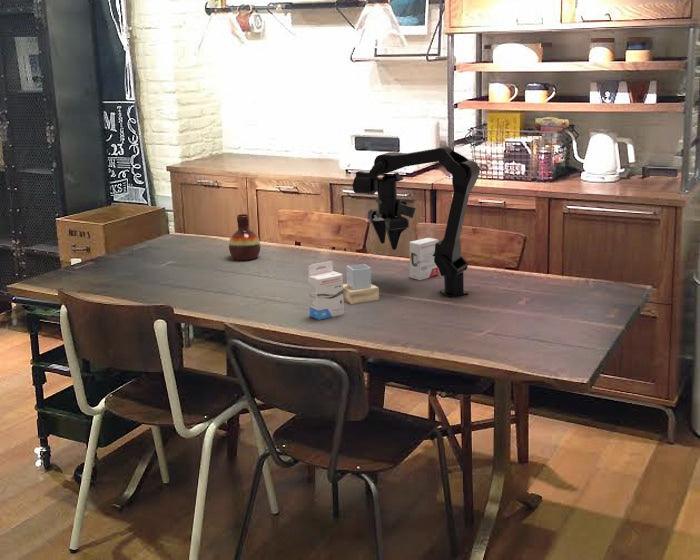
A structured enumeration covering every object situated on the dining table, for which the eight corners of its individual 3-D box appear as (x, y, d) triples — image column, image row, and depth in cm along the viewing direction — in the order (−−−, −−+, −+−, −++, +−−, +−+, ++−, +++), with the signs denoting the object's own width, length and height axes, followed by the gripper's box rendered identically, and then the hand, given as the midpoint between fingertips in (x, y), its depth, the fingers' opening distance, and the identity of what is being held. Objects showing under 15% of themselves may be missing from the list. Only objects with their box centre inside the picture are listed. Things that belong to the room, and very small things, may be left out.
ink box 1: (319, 320, 239) (316, 268, 236) (309, 316, 243) (306, 265, 239) (344, 314, 244) (342, 263, 240) (334, 310, 248) (332, 259, 244)
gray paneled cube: (371, 287, 256) (370, 267, 254) (353, 290, 254) (352, 269, 252) (364, 283, 261) (364, 263, 259) (347, 285, 259) (346, 265, 257)
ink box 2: (428, 272, 284) (428, 236, 280) (439, 275, 280) (439, 239, 277) (408, 277, 278) (408, 241, 275) (419, 280, 275) (419, 244, 271)
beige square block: (379, 300, 257) (378, 287, 256) (351, 305, 253) (351, 292, 252) (364, 293, 265) (364, 280, 264) (337, 298, 261) (337, 285, 260)
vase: (223, 258, 311) (220, 216, 307) (248, 253, 318) (245, 211, 314) (241, 263, 303) (238, 219, 299) (267, 257, 310) (264, 214, 306)
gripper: (424, 197, 257) (425, 249, 261) (399, 188, 274) (400, 237, 278) (389, 201, 253) (390, 254, 257) (366, 191, 270) (367, 241, 274)
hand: (388, 246), depth 267 cm, fingers open, 9 cm apart
